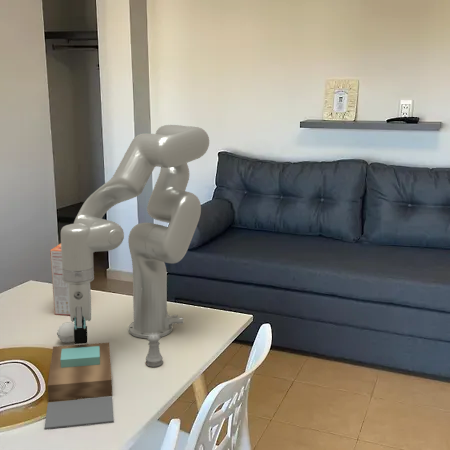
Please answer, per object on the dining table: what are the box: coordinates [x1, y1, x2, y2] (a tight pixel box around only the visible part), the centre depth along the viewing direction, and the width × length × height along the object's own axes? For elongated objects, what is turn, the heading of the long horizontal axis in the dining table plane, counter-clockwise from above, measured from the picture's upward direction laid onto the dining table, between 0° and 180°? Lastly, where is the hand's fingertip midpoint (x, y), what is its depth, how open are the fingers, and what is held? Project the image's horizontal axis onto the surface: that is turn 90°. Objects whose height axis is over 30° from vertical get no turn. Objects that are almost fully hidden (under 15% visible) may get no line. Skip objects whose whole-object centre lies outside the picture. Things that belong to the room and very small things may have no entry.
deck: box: [46, 341, 113, 403], centre depth 142 cm, size 14×20×4 cm
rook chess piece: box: [144, 333, 164, 368], centre depth 149 cm, size 4×4×8 cm
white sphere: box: [56, 321, 74, 344], centre depth 160 cm, size 8×6×6 cm
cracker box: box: [49, 242, 70, 316], centre depth 183 cm, size 14×6×21 cm, turn 172°
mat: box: [44, 395, 115, 430], centre depth 127 cm, size 14×10×1 cm
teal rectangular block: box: [61, 346, 100, 368], centre depth 142 cm, size 9×6×2 cm, turn 102°
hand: (81, 342), depth 150 cm, fingers closed
